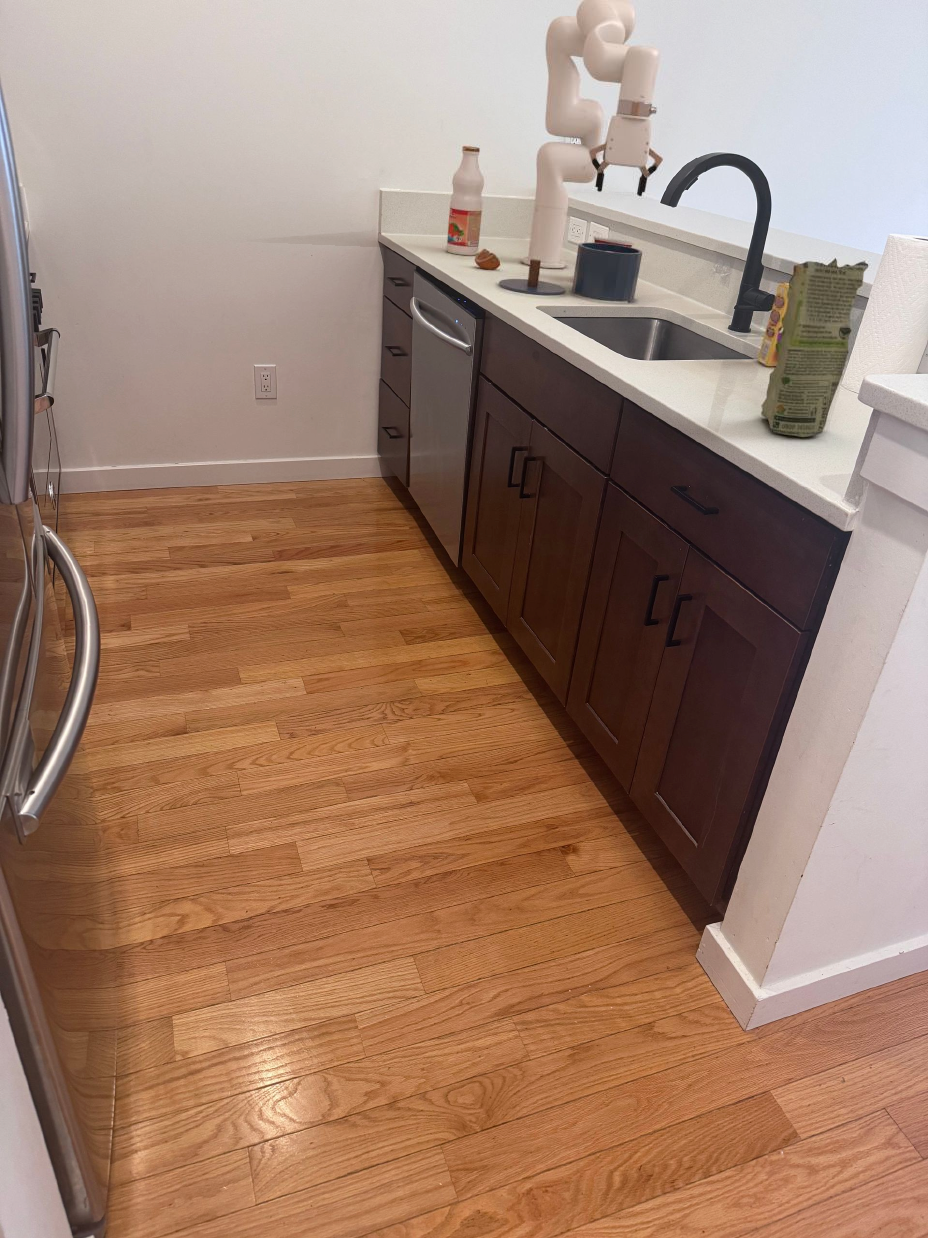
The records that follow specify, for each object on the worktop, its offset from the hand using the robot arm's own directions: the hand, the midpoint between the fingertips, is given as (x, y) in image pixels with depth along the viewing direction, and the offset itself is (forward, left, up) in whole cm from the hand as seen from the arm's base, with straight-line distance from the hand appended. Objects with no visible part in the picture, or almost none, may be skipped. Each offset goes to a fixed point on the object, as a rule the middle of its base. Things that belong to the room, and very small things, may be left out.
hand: (619, 193), depth 209 cm
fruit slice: (-22, -29, -24) cm, 43 cm away
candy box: (+55, +29, -24) cm, 67 cm away
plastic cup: (-16, +3, -24) cm, 29 cm away
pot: (0, 0, -24) cm, 24 cm away
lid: (+1, -18, -23) cm, 29 cm away
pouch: (+97, +17, -24) cm, 101 cm away
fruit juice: (-49, -36, -24) cm, 65 cm away
